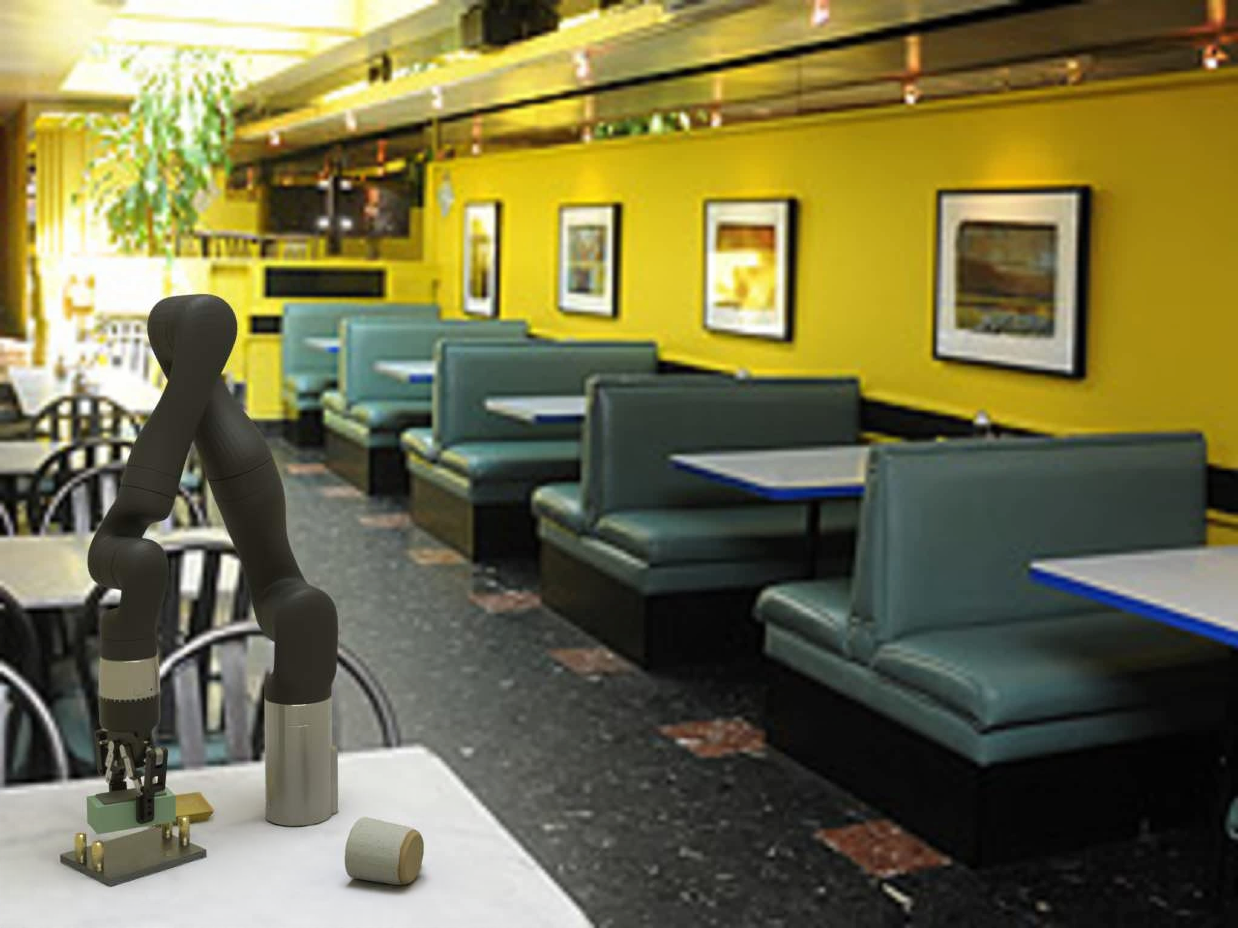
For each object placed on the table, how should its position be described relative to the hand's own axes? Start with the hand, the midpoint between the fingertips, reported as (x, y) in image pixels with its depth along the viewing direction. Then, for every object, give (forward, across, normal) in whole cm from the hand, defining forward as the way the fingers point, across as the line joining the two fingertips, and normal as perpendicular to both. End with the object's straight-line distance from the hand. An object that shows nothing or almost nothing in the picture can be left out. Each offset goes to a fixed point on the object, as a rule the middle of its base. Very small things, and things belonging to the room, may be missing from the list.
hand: (131, 815), depth 209 cm
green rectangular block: (+1, 0, 0) cm, 1 cm away
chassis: (+6, 0, 0) cm, 6 cm away
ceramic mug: (+6, -28, -19) cm, 35 cm away
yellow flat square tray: (+6, +10, -13) cm, 18 cm away
